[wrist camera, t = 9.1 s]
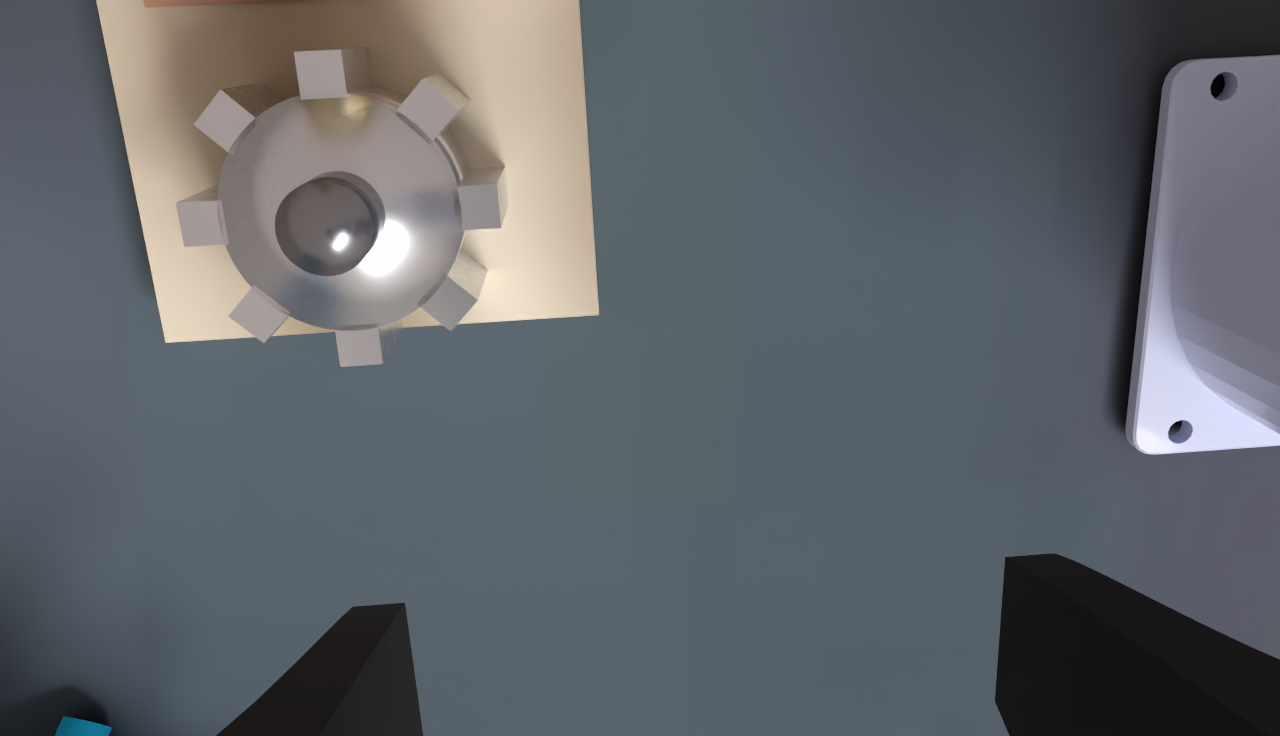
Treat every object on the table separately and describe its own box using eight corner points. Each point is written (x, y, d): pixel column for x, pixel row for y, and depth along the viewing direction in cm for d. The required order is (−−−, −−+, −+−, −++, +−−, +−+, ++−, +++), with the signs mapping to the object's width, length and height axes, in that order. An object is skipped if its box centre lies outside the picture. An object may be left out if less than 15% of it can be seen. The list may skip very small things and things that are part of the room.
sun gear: (493, 40, 18) (477, 43, 14) (518, 320, 19) (509, 378, 16) (198, 55, 18) (114, 61, 14) (248, 337, 19) (182, 400, 16)
